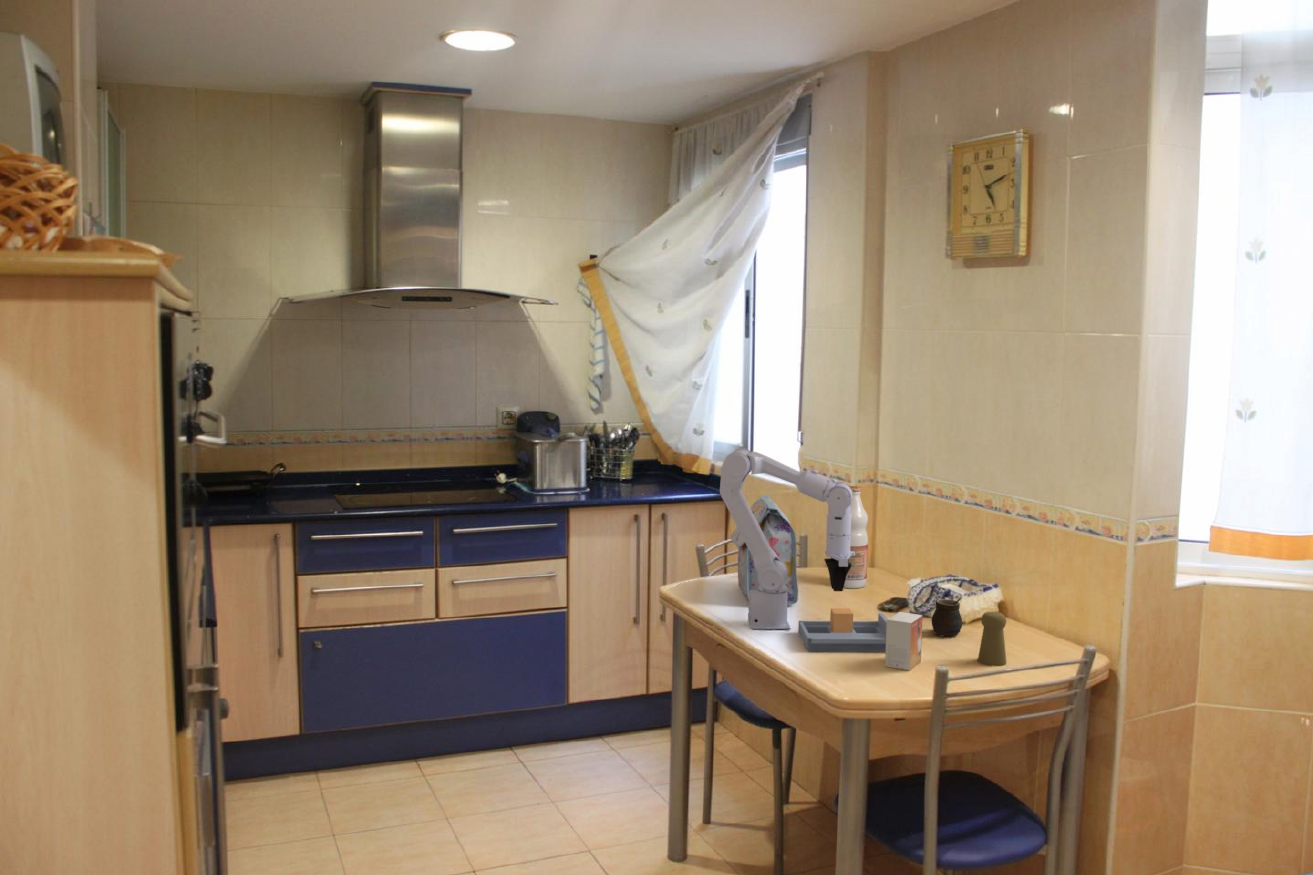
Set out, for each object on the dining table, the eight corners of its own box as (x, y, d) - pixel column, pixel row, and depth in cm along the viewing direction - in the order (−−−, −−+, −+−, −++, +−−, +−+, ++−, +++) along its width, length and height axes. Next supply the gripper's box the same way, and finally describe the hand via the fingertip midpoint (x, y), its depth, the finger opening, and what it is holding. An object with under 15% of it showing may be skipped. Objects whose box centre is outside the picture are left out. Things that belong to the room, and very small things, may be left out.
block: (833, 632, 253) (833, 613, 253) (830, 626, 258) (830, 608, 257) (852, 632, 254) (853, 613, 253) (849, 627, 258) (849, 608, 258)
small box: (909, 671, 232) (911, 623, 231) (884, 666, 235) (885, 619, 234) (921, 661, 239) (923, 614, 237) (897, 657, 242) (898, 610, 240)
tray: (807, 651, 245) (808, 630, 244) (798, 632, 260) (798, 612, 259) (896, 652, 245) (897, 630, 245) (881, 633, 260) (882, 612, 260)
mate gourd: (940, 628, 265) (942, 588, 264) (968, 635, 260) (971, 594, 259) (924, 633, 260) (926, 592, 259) (953, 641, 255) (955, 599, 254)
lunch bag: (728, 586, 305) (729, 493, 302) (787, 586, 306) (789, 493, 303) (737, 607, 283) (738, 506, 280) (801, 607, 283) (803, 507, 280)
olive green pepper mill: (973, 657, 242) (975, 609, 241) (999, 657, 242) (1002, 608, 241) (983, 666, 236) (985, 616, 235) (1011, 665, 236) (1013, 616, 235)
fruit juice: (826, 584, 308) (828, 486, 305) (846, 579, 315) (848, 483, 312) (853, 590, 302) (856, 490, 299) (873, 585, 308) (876, 487, 305)
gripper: (861, 540, 253) (859, 597, 254) (849, 528, 267) (848, 582, 269) (831, 539, 253) (829, 597, 254) (820, 528, 267) (819, 582, 269)
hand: (837, 589), depth 262 cm, fingers closed
